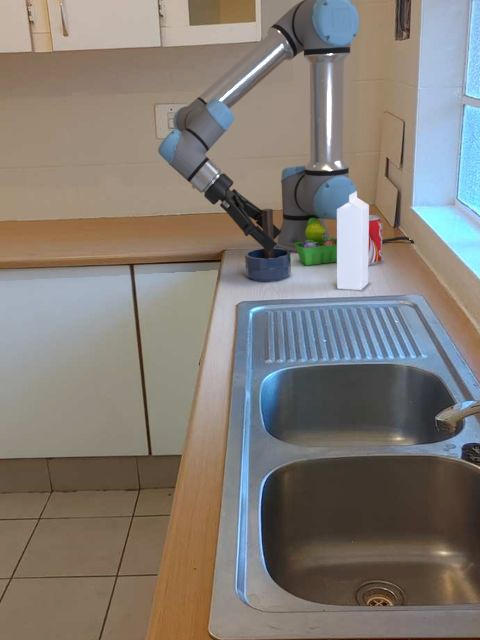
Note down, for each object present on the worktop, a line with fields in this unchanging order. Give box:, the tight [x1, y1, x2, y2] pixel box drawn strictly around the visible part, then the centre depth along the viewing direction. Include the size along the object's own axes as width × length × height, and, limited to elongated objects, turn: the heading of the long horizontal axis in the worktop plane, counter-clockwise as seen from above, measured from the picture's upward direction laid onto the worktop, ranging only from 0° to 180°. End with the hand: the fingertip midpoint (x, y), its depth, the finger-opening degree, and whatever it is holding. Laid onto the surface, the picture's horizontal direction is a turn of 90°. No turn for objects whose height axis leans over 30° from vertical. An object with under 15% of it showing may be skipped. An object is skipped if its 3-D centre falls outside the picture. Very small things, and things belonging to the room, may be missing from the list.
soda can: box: [368, 214, 383, 266], centre depth 197 cm, size 7×7×12 cm
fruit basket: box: [295, 218, 337, 266], centre depth 201 cm, size 11×9×11 cm
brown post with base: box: [261, 208, 275, 258], centre depth 189 cm, size 5×5×16 cm
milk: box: [336, 190, 370, 291], centre depth 176 cm, size 6×6×22 cm
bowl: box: [244, 247, 292, 282], centre depth 191 cm, size 11×12×6 cm
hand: (275, 241), depth 189 cm, fingers open, 13 cm apart
